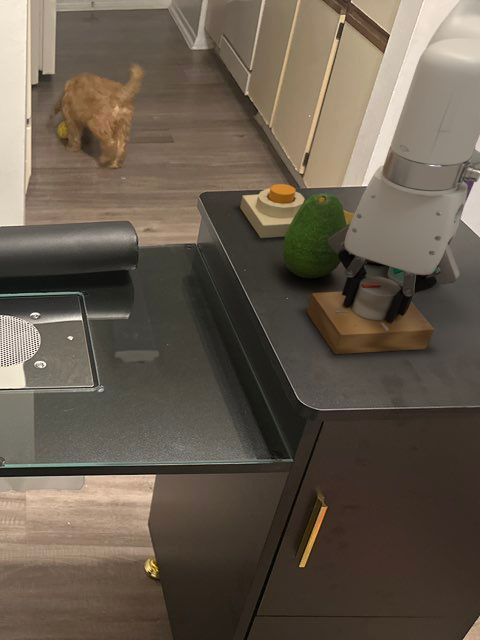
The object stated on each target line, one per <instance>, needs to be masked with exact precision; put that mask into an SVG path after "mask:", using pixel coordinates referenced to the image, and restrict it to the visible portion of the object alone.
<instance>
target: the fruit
mask: <svg viewBox="0 0 480 640" xmlns="http://www.w3.org/2000/svg"><path fill="white" fill-rule="evenodd" d="M343 210H344V207H343V204H342V203H341V202H340V200H339V198H338V197H336V196H335V195H333V194H329V193H327V192H321V193H316V194H312V195H310V196H309V197H308V198H307V199H306V200H304V203H303V204H302V206H301V207H300V208H299V210H298V212H297V213H296V215H295V217H294V218H293V220H292V222H291V224H290V226H289V228H288V230H287V233H286V235H285V237H284V239H283V245H282V255H283V259H284V263H285V266H286V268H287V269H288V270H289V271H290V272H291V273H292V274H294V275H295V276H297V277H299V278H303V279H309V280H310V279H317V278H321V277H324V276H326V275H329V274H330V273H332V272H333V271H334V270H336V269H337V268H338V266H339V265H340V263H341V261H340V259H339V258H338V254H337V253H335V252H334V250H333V249H332V248H331V247H330V246H329V245H328V243H327V240H328V239H329V238H330V237H331V236H332V235H333V234H335V233H336V232H338V231H339V230H341V229H342V228H344V227H345V226H347V224H346V220H345V215H344V211H345V210H344V211H343Z"/></svg>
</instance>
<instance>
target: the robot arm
mask: <svg viewBox="0 0 480 640" xmlns="http://www.w3.org/2000/svg"><path fill="white" fill-rule="evenodd" d="M479 138H480V0H459V1H457V3H456V4H455V5H454V6H453V8H452V9H451V10H450V12H449V13H448V14H447V15H446V17H445V18H444V19H443V21H442V22H441V23H440V25H439V26H438V27H437V29H436V30H435V32H434V33H433V35H432V36H431V38H430V40H429V42H428V43H427V45H426V47H425V49H424V50H423V51H422V53H421V55H420V56H419V59H418V62H417V64H416V67H415V70H414V73H413V76H412V80H411V81H410V85H409V88H408V91H407V94H406V97H405V100H404V104H403V106H402V109H401V112H400V115H399V118H398V120H397V124H396V127H395V131H394V133H393V136H392V139H391V142H390V146H389V148H388V151H387V154H386V158H385V160H384V164H383V165H380V166H379V167H378V168H377V169H376V170H375V172H374V174H373V175H372V177H371V179H370V180H369V182H368V184H367V186H366V188H365V190H364V192H363V194H362V196H361V198H360V201H359V202H358V205H357V207H356V209H355V211H354V216H353V218H352V221H351V223H350V224H348V225H347V226H345V227H344V228H342V229H341V230H339V231H338V232H336V233H335V234H333V235H332V236H331V237H330V238H329V239H328V240H327V243H328V245H329V246H330V247H331V248H332V249H333V250H334V252H335V253H337V254H338V258H339V259H340V261H341V262H340V263H341V264H342V266H343V268H344V269H345V271H344V274H345V276H346V277H347V278H346V281H345V283H344V286H343V289H342V291H343V292H342V295H344V296H346V297H345V300H344V303H343V306H345V307H348V306H350V305H351V304H352V303H353V301H354V298H355V295H356V292H357V289H358V286H359V283H360V281H361V280H362V279H363V278H366V277H367V274H368V272H367V269H366V267H365V266H366V264H367V263H368V262H367V261H368V260H371V261H374V262H377V263H380V264H379V265H384V266H387V267H393V268H397V269H400V270H403V271H404V280H403V286H401V287H400V290H399V291H398V292H397V294H396V295H395V298H394V301H393V303H392V306H391V308H390V311H389V313H388V316H387V319H386V320H388V322H391V323H392V322H393V321H394V320H395V319H396V318H397V316H398V315H402V316H404V315H405V313H406V312H407V310H408V308H409V305H410V303H412V301H413V299H414V296H415V294H418V293H420V292H424V291H426V290H429V289H431V288H432V289H433V288H434V287H437V286H444V285H447V284H448V285H449V284H453V283H455V282H457V280H458V278H459V277H460V275H461V274H460V270H459V267H458V265H457V261H456V260H455V257H454V255H453V254H454V253H453V251H452V249H451V247H452V245H453V242H454V240H455V237H456V234H457V231H458V228H459V226H460V222H461V219H462V216H463V212H464V208H465V205H466V203H465V200H466V195H467V188H468V185H467V184H466V183H465V182H464V181H467V182H468V181H473V182H474V183H477V182H478V181H479V179H480V169H479V168H475V166H472V162H471V159H472V157H473V156H471V155H472V153H473V150H474V148H475V149H476V147H475V146H476V145H477V143H478V141H479ZM377 263H376V264H377ZM437 265H439V267H438V269H439V271H436V273H435V272H434V270H435V269H436V267H437ZM423 275H424V276H423Z"/></svg>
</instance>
